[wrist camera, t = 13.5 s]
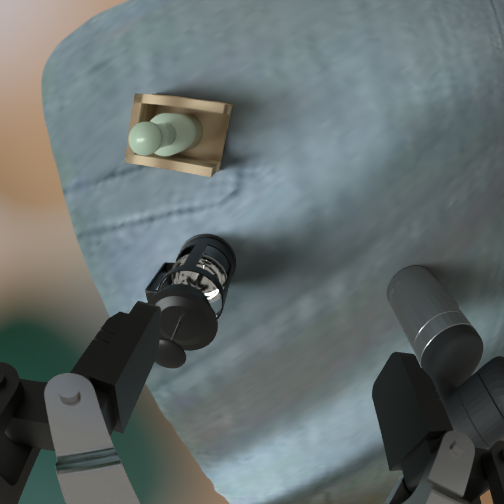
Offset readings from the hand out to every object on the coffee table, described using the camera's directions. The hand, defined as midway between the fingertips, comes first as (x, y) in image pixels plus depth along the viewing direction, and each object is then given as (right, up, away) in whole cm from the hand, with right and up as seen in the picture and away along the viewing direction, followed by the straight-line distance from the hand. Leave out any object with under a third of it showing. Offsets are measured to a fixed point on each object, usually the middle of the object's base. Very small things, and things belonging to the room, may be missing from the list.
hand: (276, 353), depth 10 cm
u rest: (-10, +21, +33) cm, 41 cm away
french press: (-9, +2, +42) cm, 43 cm away
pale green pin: (-10, +21, +32) cm, 40 cm away
